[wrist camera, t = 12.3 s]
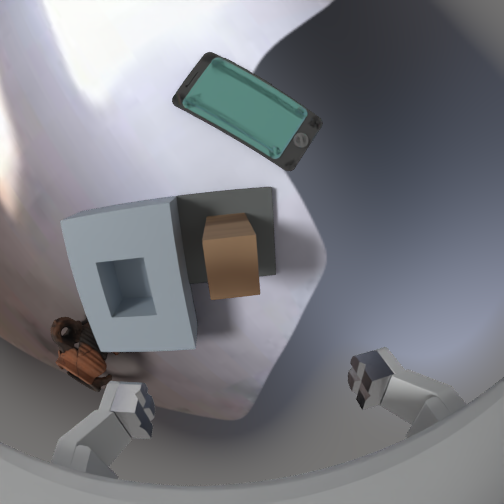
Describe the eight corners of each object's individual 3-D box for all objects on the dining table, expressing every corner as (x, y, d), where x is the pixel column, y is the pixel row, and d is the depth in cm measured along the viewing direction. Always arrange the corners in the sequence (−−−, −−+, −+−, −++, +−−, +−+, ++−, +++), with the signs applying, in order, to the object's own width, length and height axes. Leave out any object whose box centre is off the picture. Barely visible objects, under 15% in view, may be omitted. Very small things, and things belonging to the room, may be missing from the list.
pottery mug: (139, 353, 34) (116, 402, 28) (103, 345, 38) (82, 386, 32) (83, 297, 28) (49, 351, 22) (54, 296, 31) (25, 340, 25)
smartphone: (291, 173, 28) (169, 102, 24) (288, 173, 29) (171, 104, 25) (326, 119, 26) (208, 48, 22) (322, 121, 27) (208, 52, 23)
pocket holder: (81, 211, 27) (60, 220, 22) (177, 195, 28) (169, 202, 23) (112, 329, 32) (101, 351, 27) (197, 324, 33) (195, 348, 28)
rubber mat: (177, 195, 28) (176, 196, 27) (270, 186, 29) (271, 187, 28) (189, 281, 31) (189, 283, 31) (274, 272, 32) (275, 274, 32)
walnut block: (206, 216, 28) (202, 240, 20) (244, 212, 29) (256, 234, 20) (212, 260, 30) (210, 300, 22) (248, 256, 30) (260, 294, 22)
